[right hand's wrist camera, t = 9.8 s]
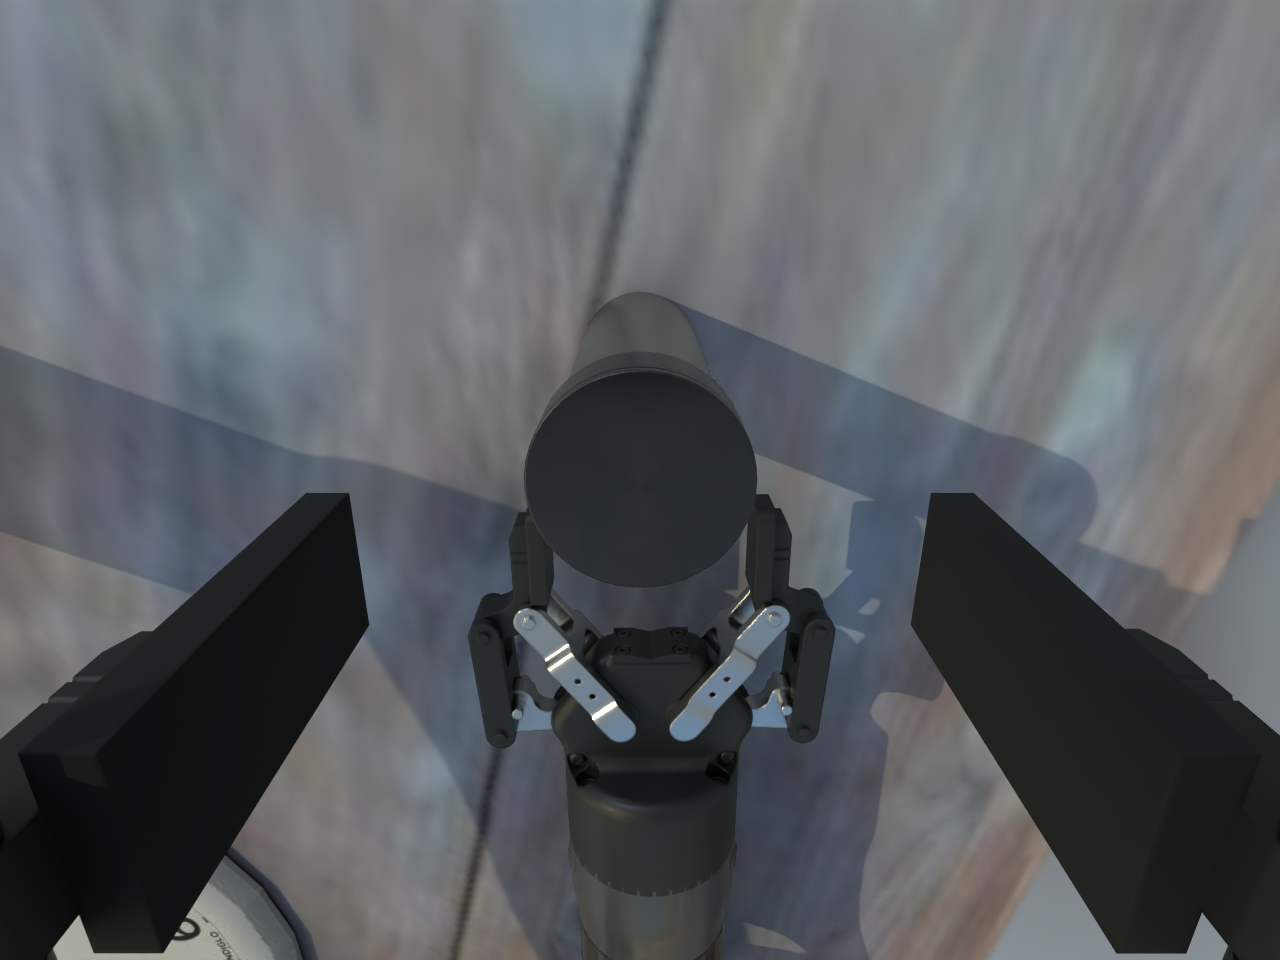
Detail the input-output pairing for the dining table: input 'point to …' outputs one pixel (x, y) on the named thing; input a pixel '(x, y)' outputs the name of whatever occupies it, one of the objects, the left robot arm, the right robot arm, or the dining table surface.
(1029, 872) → the dining table surface
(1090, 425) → the dining table surface
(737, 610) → the left robot arm
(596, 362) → the lid
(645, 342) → the jar
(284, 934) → the wall clock
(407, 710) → the dining table surface
